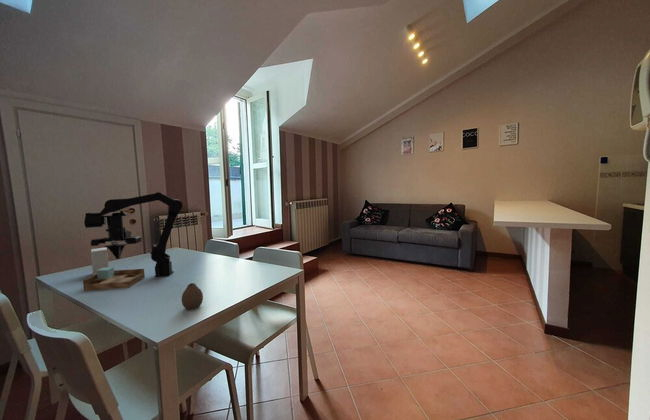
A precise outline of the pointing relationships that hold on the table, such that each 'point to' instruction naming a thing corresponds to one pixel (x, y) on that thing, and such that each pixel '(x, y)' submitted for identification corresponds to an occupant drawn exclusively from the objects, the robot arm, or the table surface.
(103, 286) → the box
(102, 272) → the block
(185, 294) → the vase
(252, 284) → the table surface
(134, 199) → the robot arm
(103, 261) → the small box
